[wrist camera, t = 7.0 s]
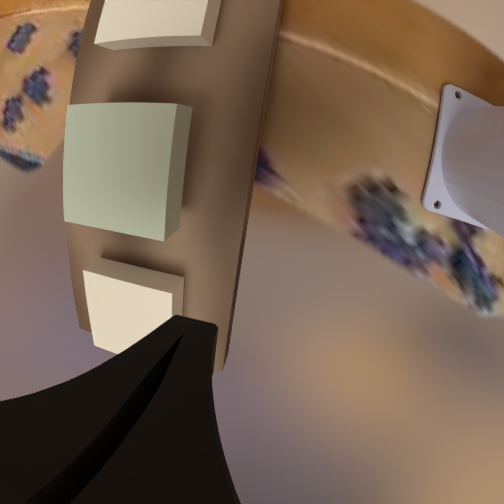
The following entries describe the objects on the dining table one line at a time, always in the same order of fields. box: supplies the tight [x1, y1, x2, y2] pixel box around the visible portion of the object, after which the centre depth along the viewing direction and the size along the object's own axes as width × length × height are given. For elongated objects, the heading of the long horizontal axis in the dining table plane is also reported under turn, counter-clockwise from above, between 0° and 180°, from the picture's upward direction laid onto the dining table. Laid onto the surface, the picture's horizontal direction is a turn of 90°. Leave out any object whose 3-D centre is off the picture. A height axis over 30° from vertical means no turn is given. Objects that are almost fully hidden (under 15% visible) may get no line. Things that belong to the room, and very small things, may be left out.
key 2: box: [83, 257, 184, 354], centre depth 18 cm, size 6×6×2 cm
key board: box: [66, 0, 284, 371], centre depth 16 cm, size 12×27×2 cm, turn 171°
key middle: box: [63, 103, 193, 241], centre depth 13 cm, size 6×6×2 cm
